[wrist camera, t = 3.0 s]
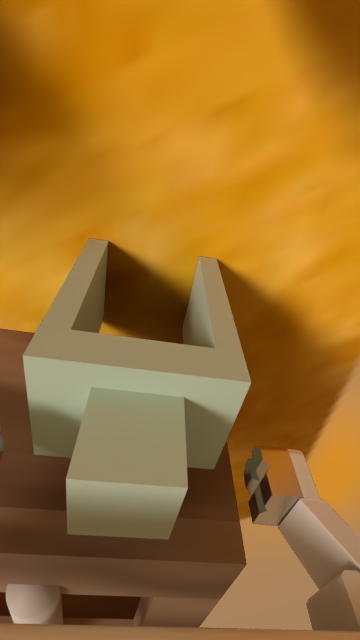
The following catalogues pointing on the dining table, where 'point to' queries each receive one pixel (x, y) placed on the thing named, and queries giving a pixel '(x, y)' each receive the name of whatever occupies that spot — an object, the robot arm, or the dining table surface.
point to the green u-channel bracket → (132, 401)
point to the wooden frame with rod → (103, 537)
